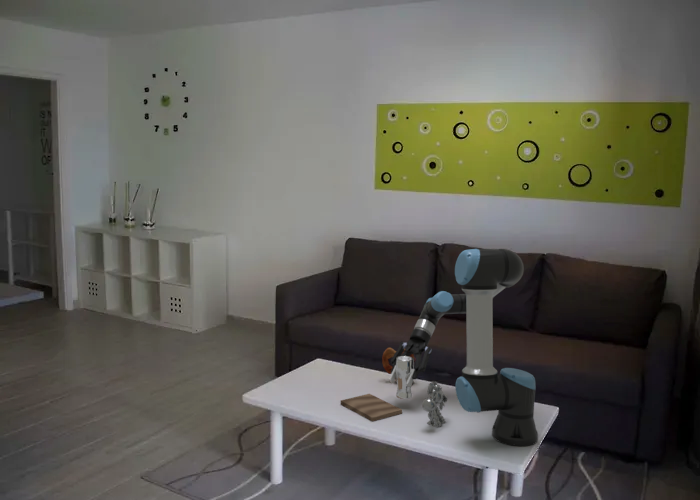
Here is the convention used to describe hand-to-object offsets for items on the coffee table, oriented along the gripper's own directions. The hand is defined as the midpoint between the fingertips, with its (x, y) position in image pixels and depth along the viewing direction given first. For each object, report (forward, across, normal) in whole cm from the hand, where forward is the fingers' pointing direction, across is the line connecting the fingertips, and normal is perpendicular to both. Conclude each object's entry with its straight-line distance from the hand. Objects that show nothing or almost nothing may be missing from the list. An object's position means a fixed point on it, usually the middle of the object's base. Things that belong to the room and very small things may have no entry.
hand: (399, 383), depth 241 cm
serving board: (+12, +8, -2) cm, 15 cm away
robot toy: (+10, -18, -4) cm, 21 cm away
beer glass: (+2, 0, -7) cm, 7 cm away
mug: (-11, +16, -25) cm, 32 cm away
